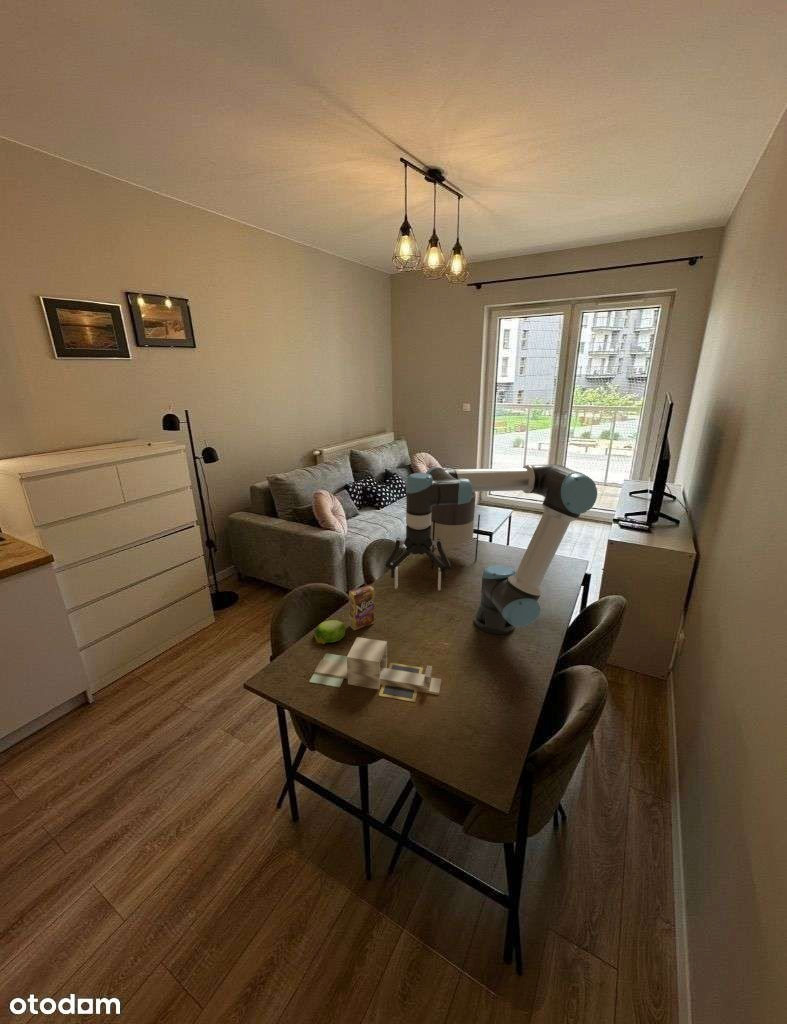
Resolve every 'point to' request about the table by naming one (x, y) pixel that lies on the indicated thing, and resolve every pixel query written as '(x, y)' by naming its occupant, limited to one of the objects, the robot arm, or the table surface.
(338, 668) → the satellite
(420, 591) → the table surface
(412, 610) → the table surface
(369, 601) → the candy box
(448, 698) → the table surface
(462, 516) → the planter
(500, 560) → the table surface
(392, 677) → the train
